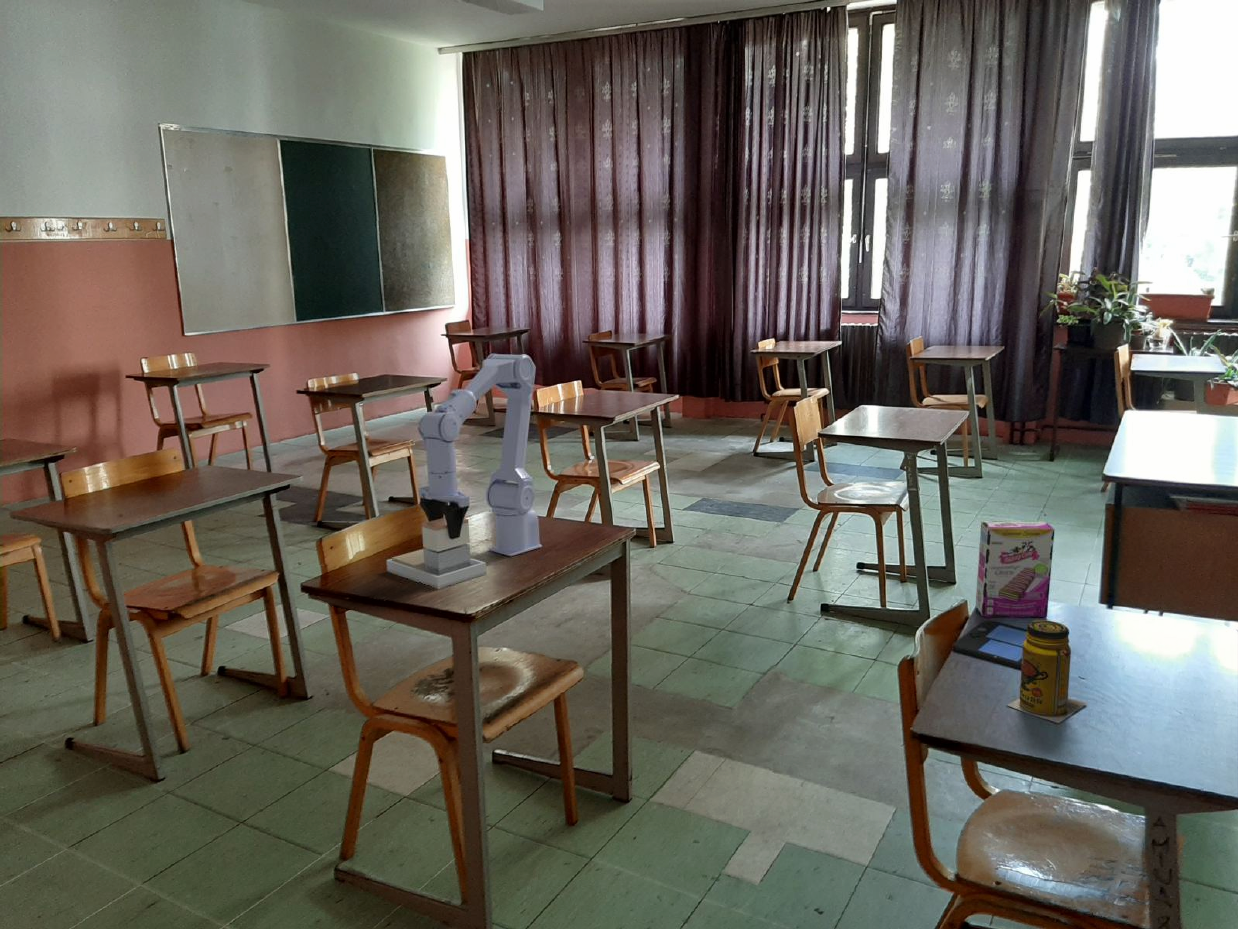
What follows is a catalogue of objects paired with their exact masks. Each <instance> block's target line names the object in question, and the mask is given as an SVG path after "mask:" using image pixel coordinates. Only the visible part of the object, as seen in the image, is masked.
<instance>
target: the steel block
mask: <svg viewBox="0 0 1238 929" xmlns="http://www.w3.org/2000/svg"><path fill="white" fill-rule="evenodd" d="M422 549H423V553H424V567H425V572H427V573H430V574H433V575H436V576H440V575H443V574H447V573H450V572H453V571H457V570H460V569H463V568H466V567H470V566H471V559H470V558H471V546H470V544H469V543H467V544H463V545H460V546H456V547H453V548H449V549H445V550H442V551H438V552H437V551H434V550H431V549H428V548H426V549H425V548H422Z"/></svg>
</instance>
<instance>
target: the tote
mask: <svg viewBox="0 0 1238 929" xmlns="http://www.w3.org/2000/svg"><path fill="white" fill-rule="evenodd" d="M423 549H426V548H425V547H424V548H422V549H417V550H415V551H410V552H407V553H404V554H403V553H402V554H400V555H397V556H393V557H391V558H388V559H387V560H385V561H386V570H387V573H391V574H394V575H396V576H400V577H403V578H405V579H407V578H408V580H411V581H413V582H417V583H419V582H421V583H423V584H422V585H424V584H426V585H425V586H427V585H430V586H432V587H431V588H433V587H434V588H433V589H436V590H440V589H445V588H447V586H448V587H450V586H449V585H451V586H453V585H456V583H457V584H459V582H460V583H463V582H465V581H466V582H467V581H470V580H473V579H475V578H479V577H482V576H485V575H487V562H485V561H482V560H479V559H475V558H472V557H470V559H471V566H470V567H466V568H463V569H460V570H457V571H453V572H450V573H447V574H443V575H440V576H436V575H433V574H430V573H427V572H425V567H424V553H423ZM421 583H420V584H421ZM430 586H429V587H430Z"/></svg>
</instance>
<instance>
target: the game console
mask: <svg viewBox="0 0 1238 929" xmlns="http://www.w3.org/2000/svg"><path fill="white" fill-rule="evenodd" d="M1026 633H1027V628H1023V627H1019V626H1015V625H1011V624H1007V623H1005V622H999V621H995V620H994V621H993V620H992V621H991V620H988V621H987V620H986V621H982V622H979V623H978V624H977V625H976V626H975V627H973V628H972V629H971V630H969V631H968V632H967V633H965V634H964V635H963V636H962V637H960V638H959V639H957V640H956V641H955V642H954V643H953V644H952V645H951V649H952V651H953V652H956V653H959V654H963V655H967V656H969V657H973V658H977V659H980V660H983V661H984V660H985V661H988V662H992V663H995V664H998V665H1001V666H1005V667H1008V668H1013V669H1015V670H1016V669H1017V670H1019V671H1021V667H1022V652H1023V650H1022V649H1023V643H1024V641H1026Z"/></svg>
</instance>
